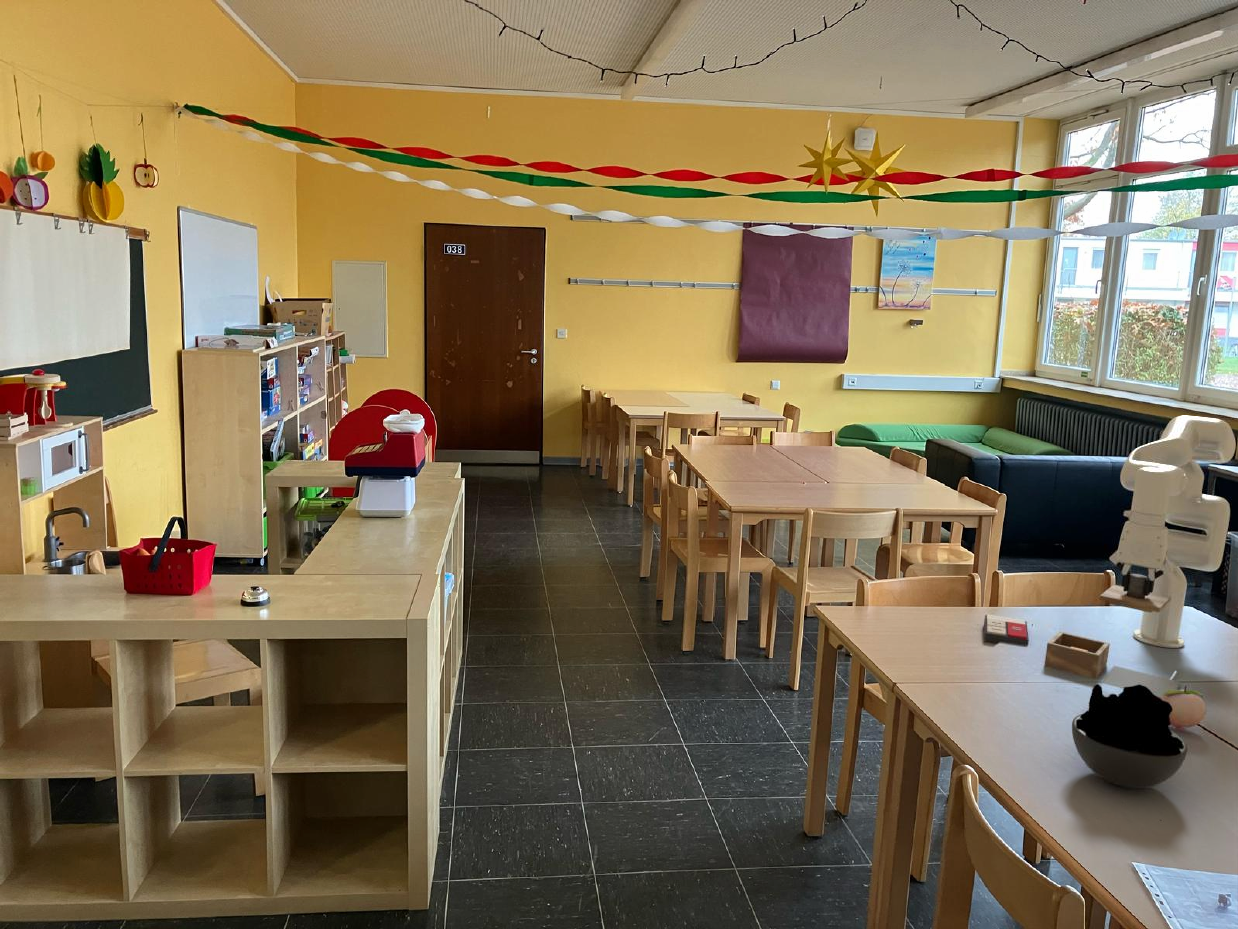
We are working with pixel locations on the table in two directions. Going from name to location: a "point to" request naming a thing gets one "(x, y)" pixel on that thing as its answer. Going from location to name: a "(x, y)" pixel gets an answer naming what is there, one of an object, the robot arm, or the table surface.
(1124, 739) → the coal bowl
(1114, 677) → the mat
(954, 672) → the table surface
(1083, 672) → the storage box
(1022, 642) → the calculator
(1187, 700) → the decorative fruit
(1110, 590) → the lid
